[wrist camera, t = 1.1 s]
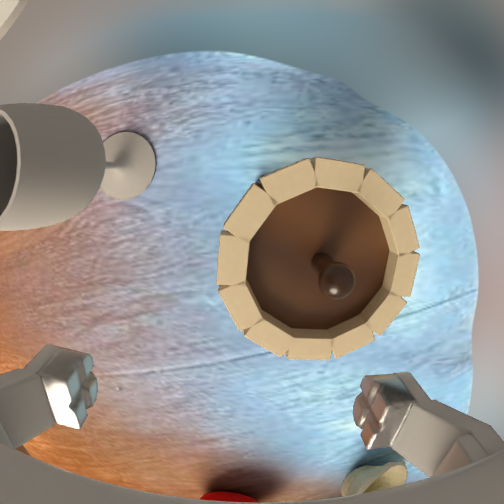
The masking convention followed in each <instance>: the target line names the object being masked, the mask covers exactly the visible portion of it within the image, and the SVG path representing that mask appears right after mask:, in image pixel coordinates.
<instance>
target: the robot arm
mask: <svg viewBox="0 0 504 504" xmlns="http://www.w3.org/2000/svg"><path fill="white" fill-rule="evenodd" d="M93 367H94V363H93V358H92V356H91V355H90V354H88V353H83V352H79V351H75V350H71V349H67V348H63V347H59V346H55V345H51V344H48V345H46V346H45V347H44V348H43V349H42V350H41V351H40V352H39V353H38V354H37V355H36V356H35V357H34V358H33V359H32V360H31V361H30V362H29V363H28V364H27V365H26V367H25V368H24V369H23V370H22V369H16V370H13V371H10V372H7V373H4V374H0V504H504V441H503V440H502V439H501V438H500V436H499V435H498V434H497V433H496V431H495V430H494V429H493V428H492V427H491V426H490V425H488V424H486V423H484V422H482V421H479V420H477V419H475V418H473V417H471V416H468V415H466V414H464V413H462V412H460V411H458V410H456V409H453V408H451V407H449V406H447V405H445V404H443V403H441V402H439V401H437V400H431V399H430V398H429V397H428V395H427V394H426V393H425V391H424V390H423V389H422V388H421V386H420V385H419V384H418V382H417V381H416V380H415V378H414V377H413V376H412V375H411V373H409V372H399V373H393V374H383V375H367V376H365V377H364V378H363V379H362V382H361V385H360V387H361V389H362V392H361V393H360V394H359V395H358V396H357V397H356V399H355V402H354V405H353V417H354V421H355V423H356V425H357V426H358V427H360V428H361V429H363V430H362V432H361V437H362V440H363V442H364V444H365V447H366V449H367V450H368V449H377V448H384V447H391V446H392V447H391V448H392V449H393V450H395V451H396V452H397V453H398V454H400V455H401V456H402V457H404V458H405V459H406V460H407V461H409V462H410V463H411V464H413V465H414V466H415V467H417V468H418V469H419V470H420V471H422V472H423V473H424V474H426V475H427V476H428V477H430V478H427V479H424V480H420V481H417V482H413V483H409V484H405V485H401V486H397V487H393V488H388V489H384V490H379V491H374V492H369V493H363V494H357V495H351V496H345V497H337V498H329V499H320V500H309V501H295V502H267V503H253V502H225V501H211V500H200V499H190V498H182V497H175V496H168V495H162V494H156V493H151V492H145V491H140V490H136V489H131V488H126V487H122V486H118V485H114V484H110V483H106V482H103V481H99V480H95V479H92V478H89V477H85V476H82V475H79V474H76V473H73V472H70V471H67V470H64V469H61V468H59V467H56V466H53V465H51V464H48V463H45V462H43V461H40V460H38V459H36V458H33V457H31V456H29V455H26V454H24V453H22V452H20V451H17V450H15V449H16V448H17V447H19V446H21V445H23V444H24V443H26V442H28V441H29V440H31V439H33V438H34V437H36V436H38V435H39V434H41V433H42V432H44V431H46V430H47V429H49V428H50V427H52V426H54V425H55V424H56V423H59V424H62V425H66V426H69V427H73V428H77V429H81V427H82V425H83V423H84V421H85V419H86V418H87V416H88V414H87V411H86V409H88V408H90V407H92V406H93V405H94V403H95V401H96V397H97V392H98V384H97V378H96V377H95V375H94V374H93V373H92V372H91V370H92V369H93Z"/></svg>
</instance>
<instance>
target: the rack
mask: <svg viewBox="0 0 504 504" xmlns="http://www.w3.org/2000/svg"><path fill="white" fill-rule="evenodd" d="M255 184H256V185H257V186H258V187H260V188H261V189H263V187H262V184H261V183H255ZM263 190H264V189H263ZM389 251H390V249H389V246H388V243H387V239H386V236H385V233H384V230H383V227H382V224H381V221H380V217H379V216H378V215H377V214H376V213H375V212H374V211H373V210H372V209H371V208H369V207H368V206H367V205H366V204H365V203H364V202H362V201H361V200H360V199H359V198H358V197H357V196H355V195H354V194H353V193H352V192H347V191H341V190H334V189H327V188H319V187H316V188H314V189H312V190H309V191H307V192H305V193H302V194H300V195H298V196H295V197H293V198H291V199H289V200H286V201H284V202H282V203H280V204H277V205H276V206H275V208H274V209H273V210H272V212H271V213H270V214H269V216H268V217H267V219H266V220H265V221H264V223H263V224H262V225H261V227H260V228H259V229H258V231H257V232H256V234H255V235H254V236H253V238H252V239H251V240H250V246H249V256H248V266H247V276H246V279H247V281H248V283H249V285H250V287H251V289H252V291H253V293H254V295H255V297H256V299H257V301H258V303H259V305H260V307H261V309H262V310H263V311H265V312H266V313H268V314H270V315H271V316H273V317H274V318H276V319H278V320H279V321H281V322H282V323H284V324H285V325H287V326H289V327H290V328H297V329H323V330H327V329H329V328H332V327H334V326H336V325H338V324H340V323H342V322H344V321H347V320H349V319H351V318H353V317H355V316H357V315H359V314H360V313H361V312H362V311H363V310H364V308H365V307H366V306H367V305H368V303H369V302H370V301H371V300H372V298H373V297H374V296H375V295H376V293H377V292H378V291H379V289H380V288H381V287H382V285H383V280H384V276H385V271H386V266H387V261H388V256H389Z"/></svg>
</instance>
